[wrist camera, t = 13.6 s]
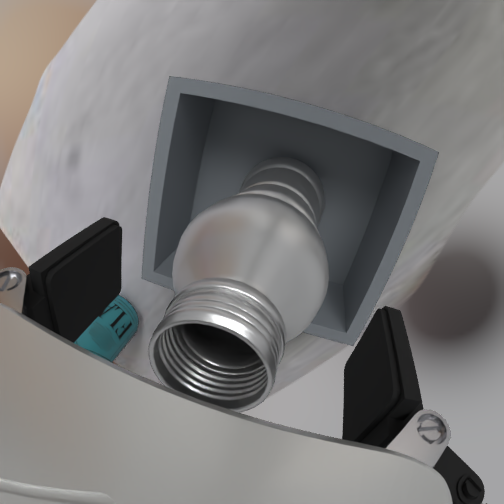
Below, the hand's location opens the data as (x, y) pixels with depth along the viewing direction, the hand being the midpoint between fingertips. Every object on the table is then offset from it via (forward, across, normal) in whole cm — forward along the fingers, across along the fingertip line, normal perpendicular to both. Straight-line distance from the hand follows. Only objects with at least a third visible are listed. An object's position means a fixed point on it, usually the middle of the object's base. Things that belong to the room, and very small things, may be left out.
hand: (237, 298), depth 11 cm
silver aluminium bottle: (+17, 0, +1) cm, 17 cm away
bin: (+18, 0, +1) cm, 18 cm away
